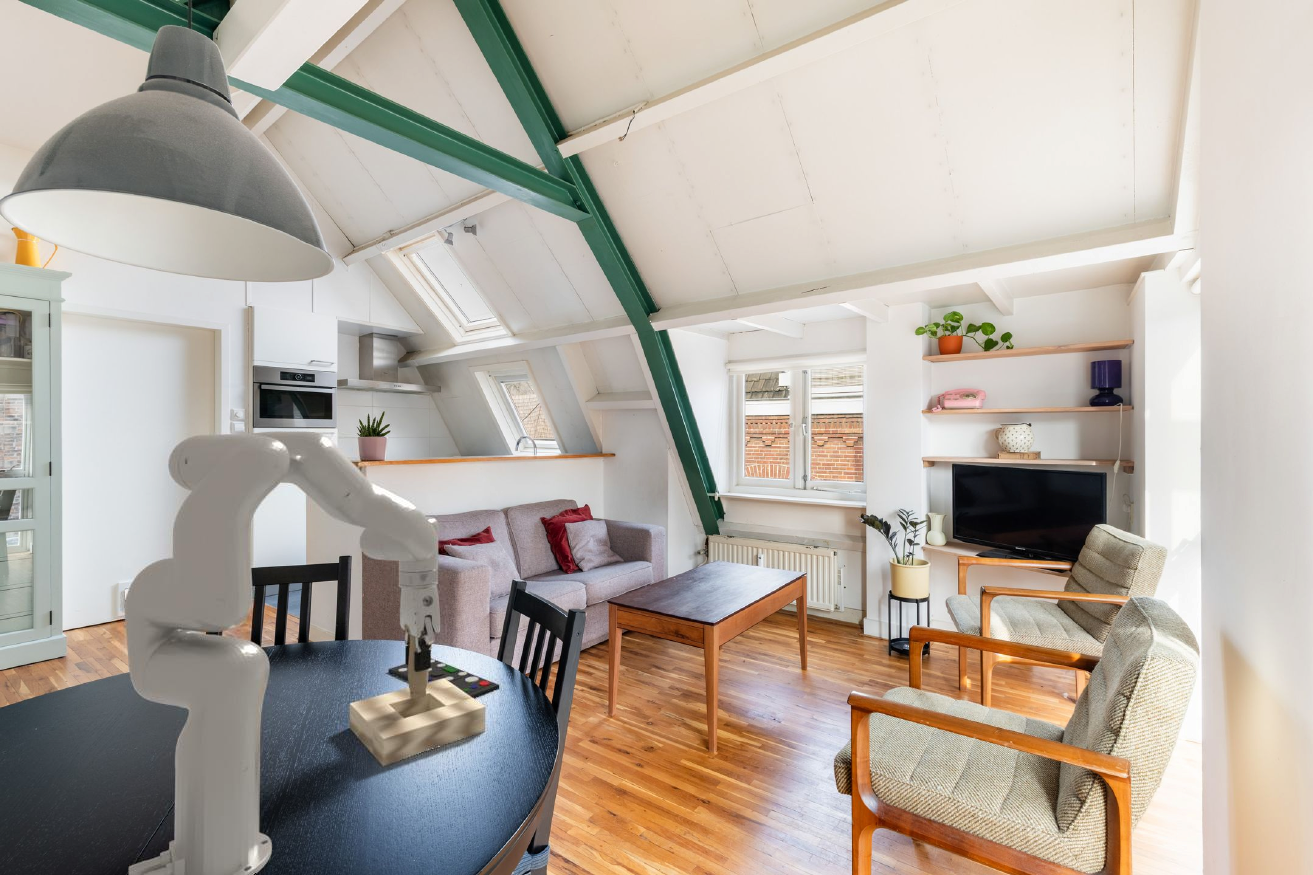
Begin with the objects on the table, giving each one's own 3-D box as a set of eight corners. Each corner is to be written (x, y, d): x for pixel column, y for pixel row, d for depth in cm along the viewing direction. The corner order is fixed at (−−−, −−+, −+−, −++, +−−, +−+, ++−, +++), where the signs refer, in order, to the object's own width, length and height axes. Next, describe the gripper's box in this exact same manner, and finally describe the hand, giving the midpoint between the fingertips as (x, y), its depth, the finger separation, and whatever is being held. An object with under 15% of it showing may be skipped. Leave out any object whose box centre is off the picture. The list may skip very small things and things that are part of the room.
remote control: (458, 706, 136) (458, 697, 136) (388, 674, 155) (388, 666, 155) (499, 690, 145) (499, 682, 145) (427, 662, 163) (428, 654, 163)
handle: (416, 704, 121) (417, 629, 121) (398, 696, 124) (399, 623, 124) (437, 696, 124) (438, 623, 124) (419, 688, 128) (420, 617, 128)
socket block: (383, 766, 110) (383, 738, 110) (349, 727, 125) (349, 703, 125) (485, 731, 124) (485, 706, 124) (443, 700, 138) (444, 678, 138)
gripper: (453, 581, 121) (453, 673, 121) (420, 568, 133) (420, 651, 133) (416, 588, 116) (415, 683, 116) (385, 573, 128) (384, 660, 128)
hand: (417, 665), depth 124 cm, fingers closed on handle, 3 cm apart
